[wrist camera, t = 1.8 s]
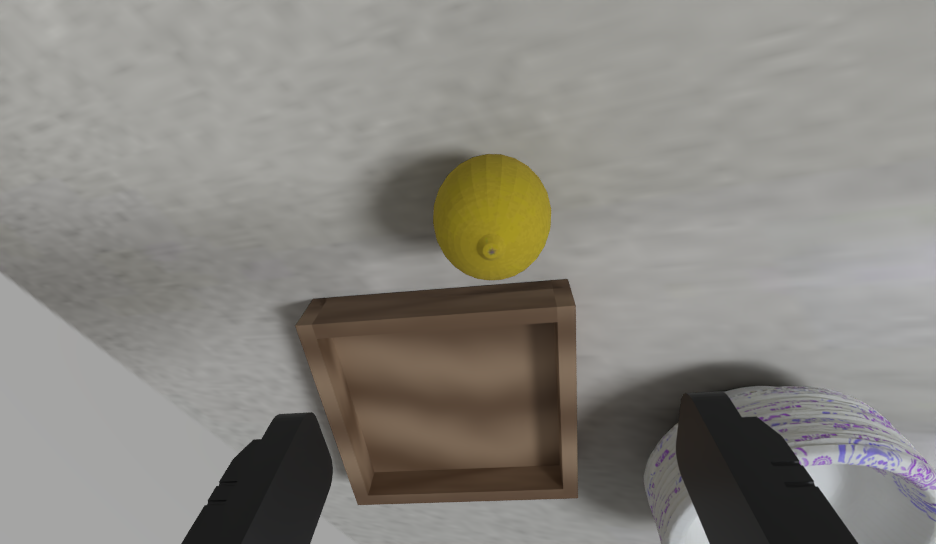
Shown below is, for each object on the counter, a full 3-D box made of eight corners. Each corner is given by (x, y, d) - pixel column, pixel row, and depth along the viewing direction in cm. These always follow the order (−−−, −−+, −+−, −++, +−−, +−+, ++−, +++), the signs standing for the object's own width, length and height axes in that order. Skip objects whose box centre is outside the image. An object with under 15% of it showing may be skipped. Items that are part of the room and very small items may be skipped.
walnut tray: (313, 299, 29) (295, 325, 27) (567, 279, 28) (575, 305, 25) (367, 470, 37) (357, 504, 34) (571, 462, 35) (577, 498, 32)
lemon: (467, 249, 27) (457, 327, 20) (425, 163, 25) (397, 216, 18) (556, 214, 26) (580, 284, 19) (521, 120, 24) (532, 160, 17)
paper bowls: (622, 504, 37) (652, 615, 30) (643, 353, 30) (688, 452, 23) (822, 505, 36) (901, 620, 29) (891, 347, 29) (1019, 450, 22)
